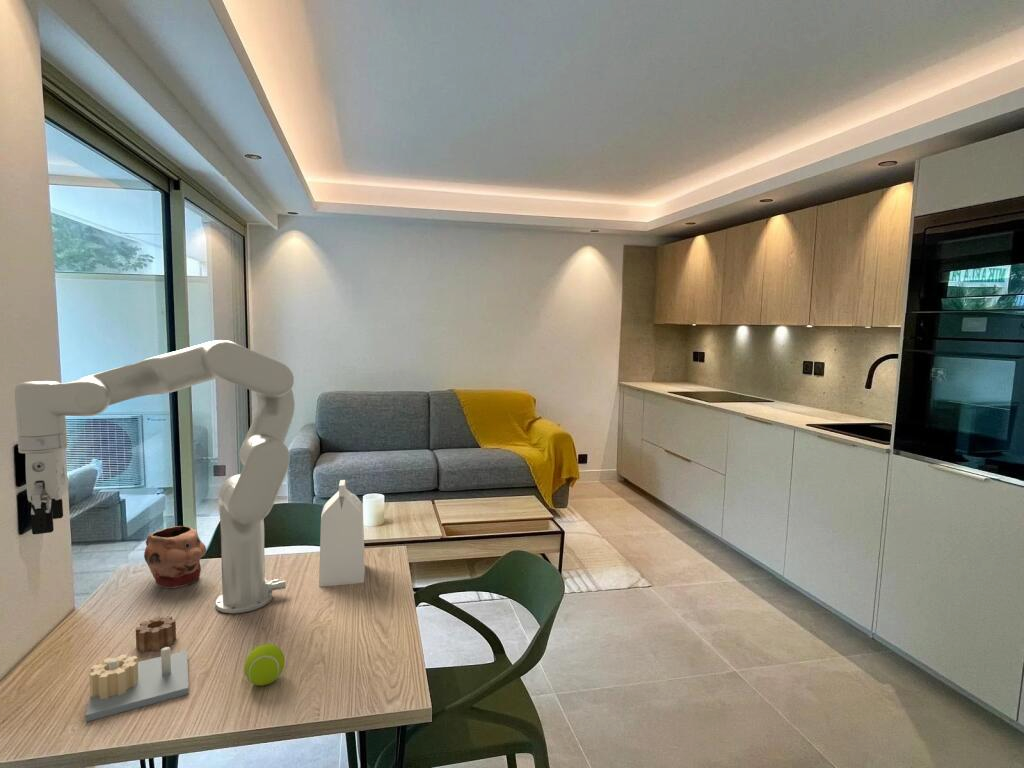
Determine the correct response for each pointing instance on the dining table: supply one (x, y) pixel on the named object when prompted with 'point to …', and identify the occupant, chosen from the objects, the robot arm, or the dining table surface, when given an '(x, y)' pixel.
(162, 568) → the decorative planter
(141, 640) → the walnut gear
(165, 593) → the dining table surface
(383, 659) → the dining table surface
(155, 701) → the gear board
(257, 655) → the tennis ball
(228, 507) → the robot arm
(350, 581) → the milk
